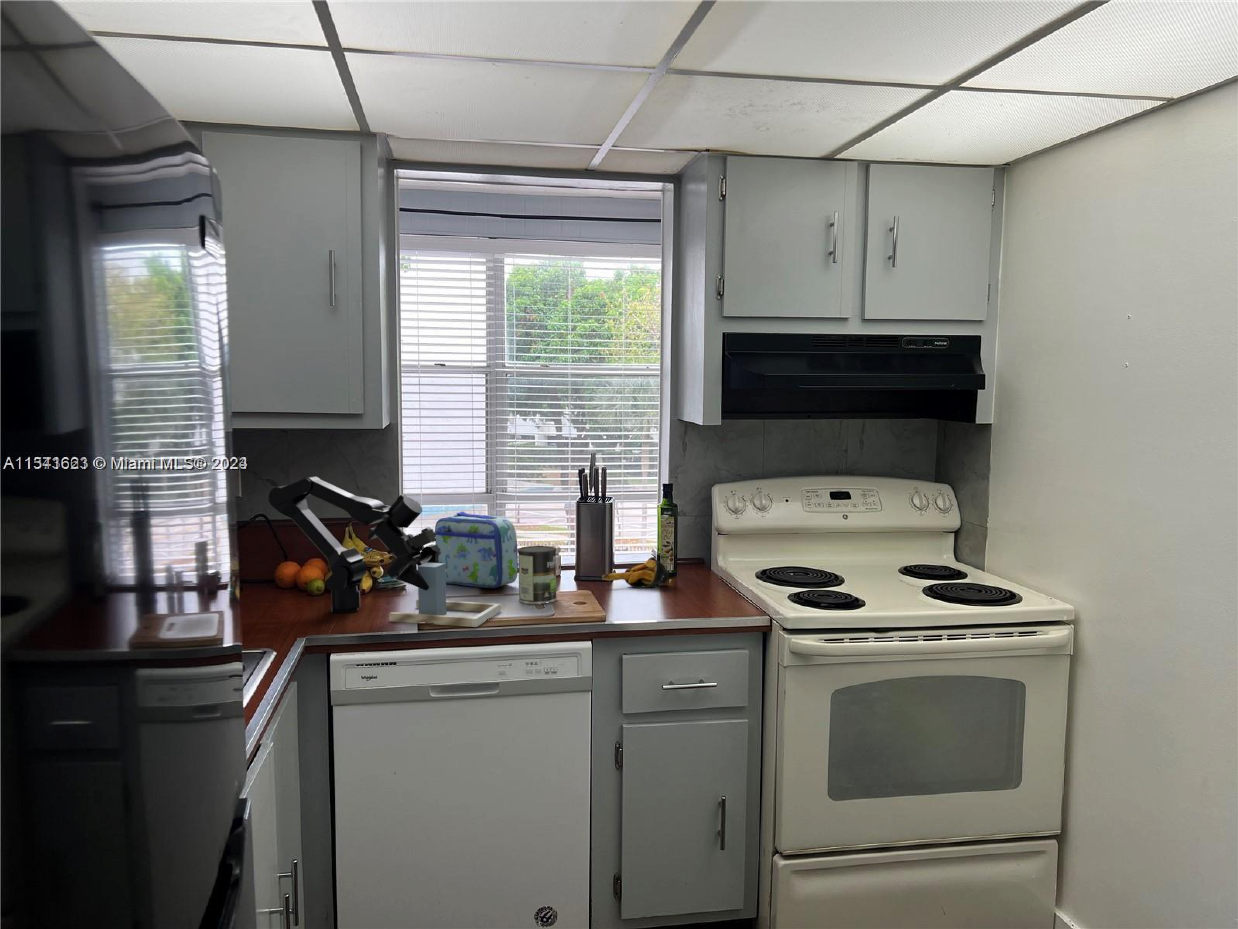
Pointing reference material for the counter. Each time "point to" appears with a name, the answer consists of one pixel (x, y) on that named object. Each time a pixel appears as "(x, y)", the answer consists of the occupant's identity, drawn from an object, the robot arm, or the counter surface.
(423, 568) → the slate block
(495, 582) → the lunch box
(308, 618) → the counter surface
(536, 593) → the coffee can
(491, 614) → the wooden picture frame
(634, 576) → the yellow lumpy two-tone part
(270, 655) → the counter surface
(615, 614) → the counter surface
